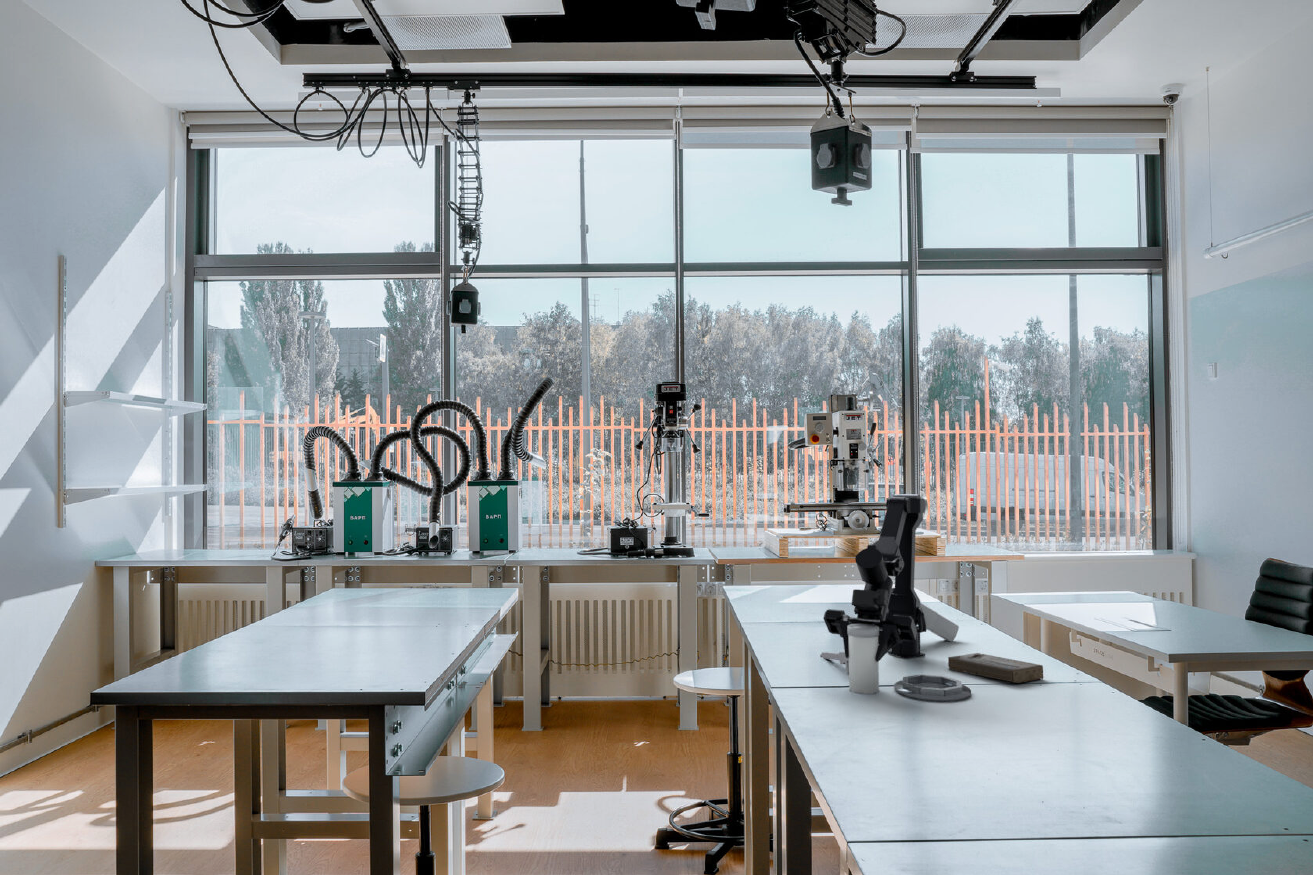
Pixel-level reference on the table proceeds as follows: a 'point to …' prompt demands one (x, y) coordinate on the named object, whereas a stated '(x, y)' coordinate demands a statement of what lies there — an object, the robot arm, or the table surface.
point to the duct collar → (932, 688)
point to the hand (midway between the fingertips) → (861, 658)
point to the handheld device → (936, 624)
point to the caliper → (837, 658)
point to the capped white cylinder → (863, 658)
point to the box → (996, 667)
